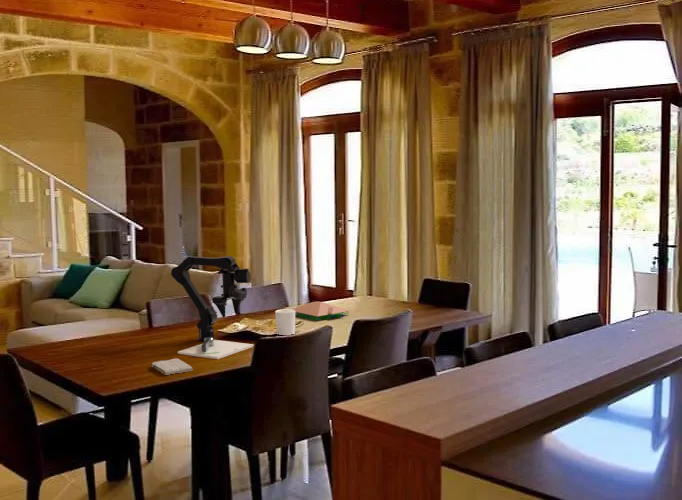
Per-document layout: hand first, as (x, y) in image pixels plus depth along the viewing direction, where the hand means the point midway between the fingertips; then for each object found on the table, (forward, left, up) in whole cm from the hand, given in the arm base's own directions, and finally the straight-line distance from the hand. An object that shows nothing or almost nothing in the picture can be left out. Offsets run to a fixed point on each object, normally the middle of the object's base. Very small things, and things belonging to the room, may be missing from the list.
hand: (230, 315), depth 345 cm
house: (+5, +69, -13) cm, 71 cm away
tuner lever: (+4, -22, -11) cm, 25 cm away
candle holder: (+18, +20, -12) cm, 30 cm away
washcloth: (+11, -52, -13) cm, 54 cm away
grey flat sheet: (+6, -19, -12) cm, 23 cm away
